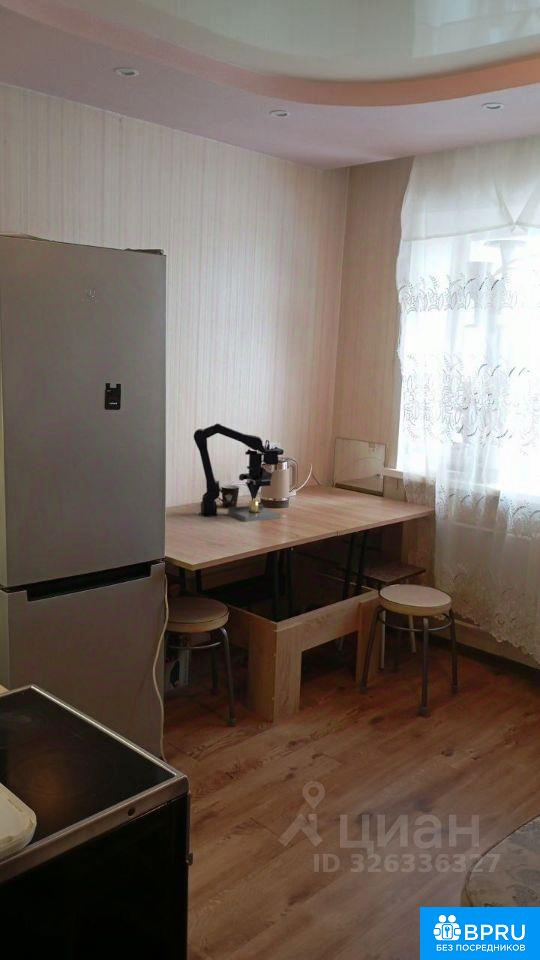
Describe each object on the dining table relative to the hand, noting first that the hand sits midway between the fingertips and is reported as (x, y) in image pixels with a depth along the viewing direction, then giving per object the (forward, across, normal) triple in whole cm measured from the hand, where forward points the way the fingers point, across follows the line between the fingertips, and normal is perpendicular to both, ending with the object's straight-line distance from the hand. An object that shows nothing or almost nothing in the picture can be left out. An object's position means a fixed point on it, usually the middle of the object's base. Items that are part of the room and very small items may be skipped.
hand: (254, 498), depth 355 cm
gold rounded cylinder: (+8, 0, 0) cm, 8 cm away
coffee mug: (+8, +23, +1) cm, 25 cm away
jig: (+8, 0, 0) cm, 8 cm away
